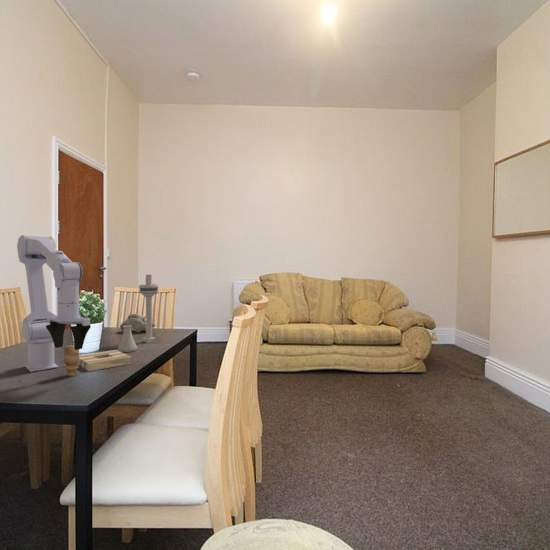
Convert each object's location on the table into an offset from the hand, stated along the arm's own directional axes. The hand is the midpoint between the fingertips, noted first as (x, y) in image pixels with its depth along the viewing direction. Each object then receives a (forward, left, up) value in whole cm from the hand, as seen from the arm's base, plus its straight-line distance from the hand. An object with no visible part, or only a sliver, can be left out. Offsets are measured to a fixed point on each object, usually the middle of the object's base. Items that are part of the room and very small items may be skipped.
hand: (68, 348), depth 113 cm
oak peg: (-4, +2, -10) cm, 11 cm away
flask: (-26, +28, -10) cm, 40 cm away
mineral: (-65, +49, -10) cm, 82 cm away
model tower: (-37, +42, -10) cm, 57 cm away
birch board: (-12, +14, -10) cm, 21 cm away
